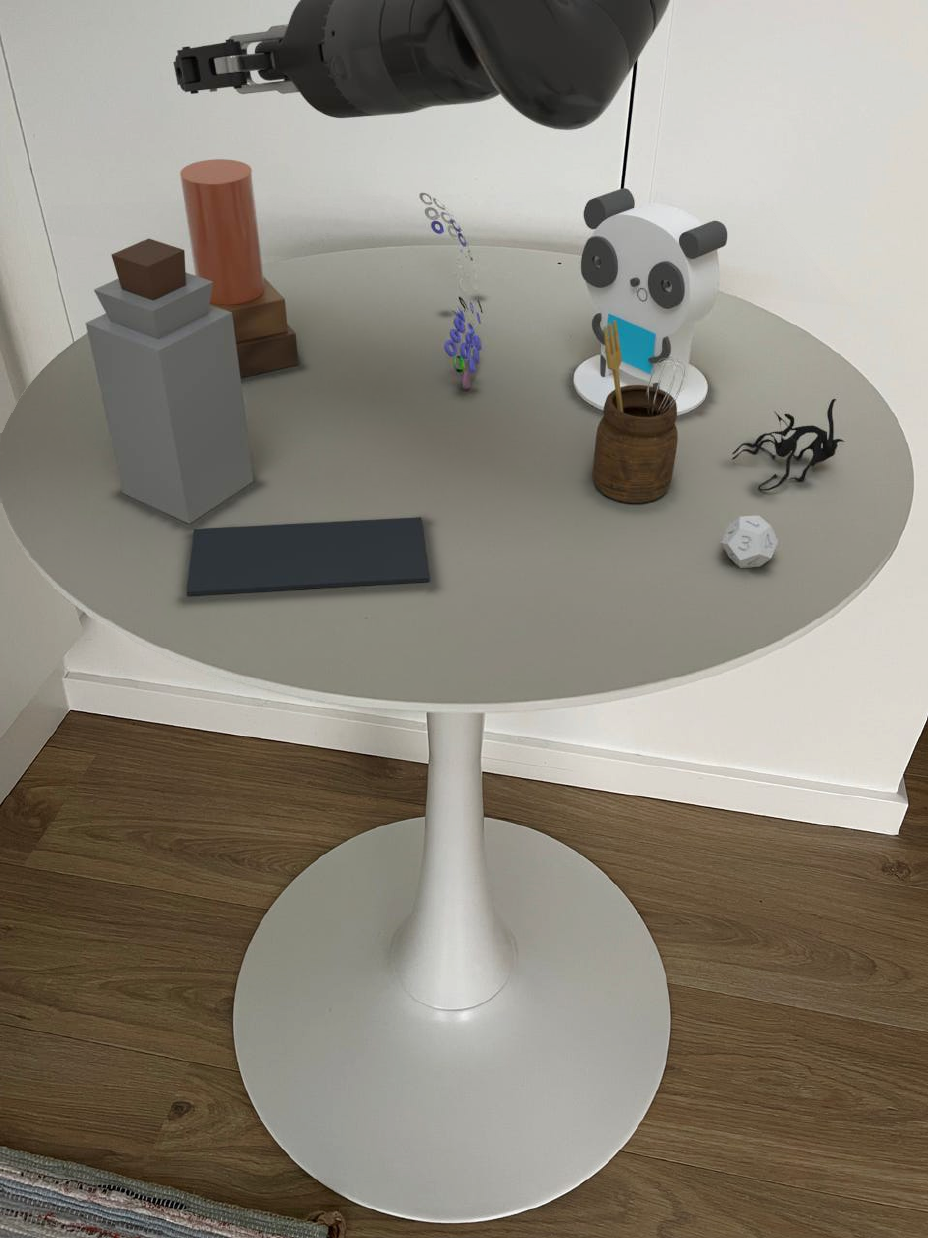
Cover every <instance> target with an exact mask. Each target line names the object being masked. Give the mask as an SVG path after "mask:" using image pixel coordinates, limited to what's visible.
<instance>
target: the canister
mask: <svg viewBox="0 0 928 1238" xmlns="http://www.w3.org/2000/svg"><path fill="white" fill-rule="evenodd" d="M179 177H180V184H181V191H182V196H183V197H182V198H183V204H184V210H185V217H186V224H187V230H188V237H189V244H190V250H191V258H192V265H193V271H194V275H195V276H198V277H201V278H204V279H207V280H210V281H213V286H212V292H211V298H210V303H213V304H219V305H235V304H242V303H246V302H249V301H252V300H254V299H256V298H258V297H260V296H261V295H262V294H263V292H264V279H263V276H264V272H263V262H262V261H263V260H262V252H261V243H260V233H259V225H258V217H257V216H258V215H257V207H256V196H255V187H254V179H253V170H252V167H251V166H250V165H249V164H248V163H245V162H243V161H239V160H234V159H223V158H219V159H218V158H217V159H216V158H215V159H205V160H199V161H195V162H192V163H190V164H188V165H186V166H184V167H183V168H182V169H180V172H179Z"/></svg>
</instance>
